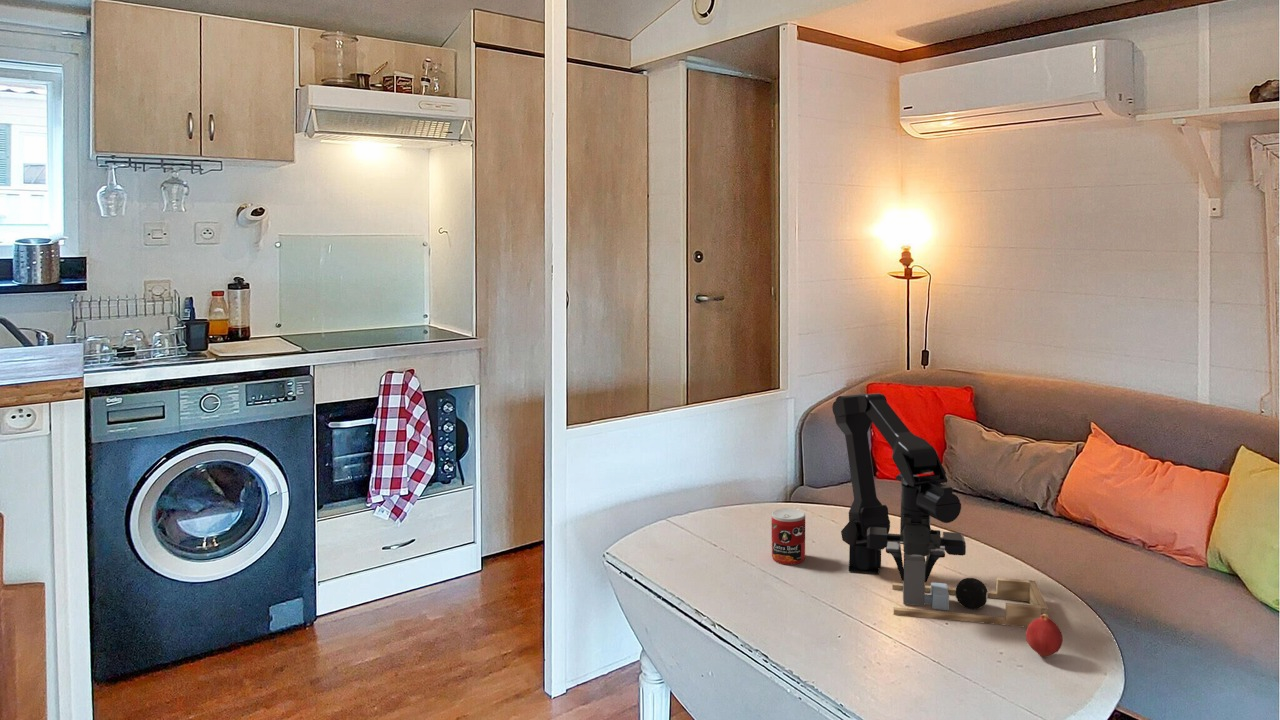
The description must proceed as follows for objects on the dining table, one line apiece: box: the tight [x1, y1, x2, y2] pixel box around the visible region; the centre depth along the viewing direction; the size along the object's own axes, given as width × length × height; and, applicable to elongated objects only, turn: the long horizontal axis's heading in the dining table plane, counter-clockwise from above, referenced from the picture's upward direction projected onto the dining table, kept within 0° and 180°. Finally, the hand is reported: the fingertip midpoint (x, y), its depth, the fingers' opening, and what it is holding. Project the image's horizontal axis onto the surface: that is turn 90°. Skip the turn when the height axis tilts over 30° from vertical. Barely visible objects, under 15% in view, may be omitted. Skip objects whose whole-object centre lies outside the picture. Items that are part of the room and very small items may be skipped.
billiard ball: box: [955, 577, 989, 610], centre depth 165 cm, size 6×6×6 cm
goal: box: [996, 577, 1049, 628], centre depth 163 cm, size 7×13×4 cm, turn 164°
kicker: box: [902, 552, 950, 611], centre depth 168 cm, size 8×6×9 cm
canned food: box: [771, 507, 806, 566], centre depth 193 cm, size 8×8×11 cm
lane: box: [891, 582, 1007, 626], centre depth 167 cm, size 20×13×1 cm, turn 74°
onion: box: [1025, 614, 1064, 659], centre depth 145 cm, size 6×6×8 cm
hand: (913, 581), depth 168 cm, fingers closed on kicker, 4 cm apart
